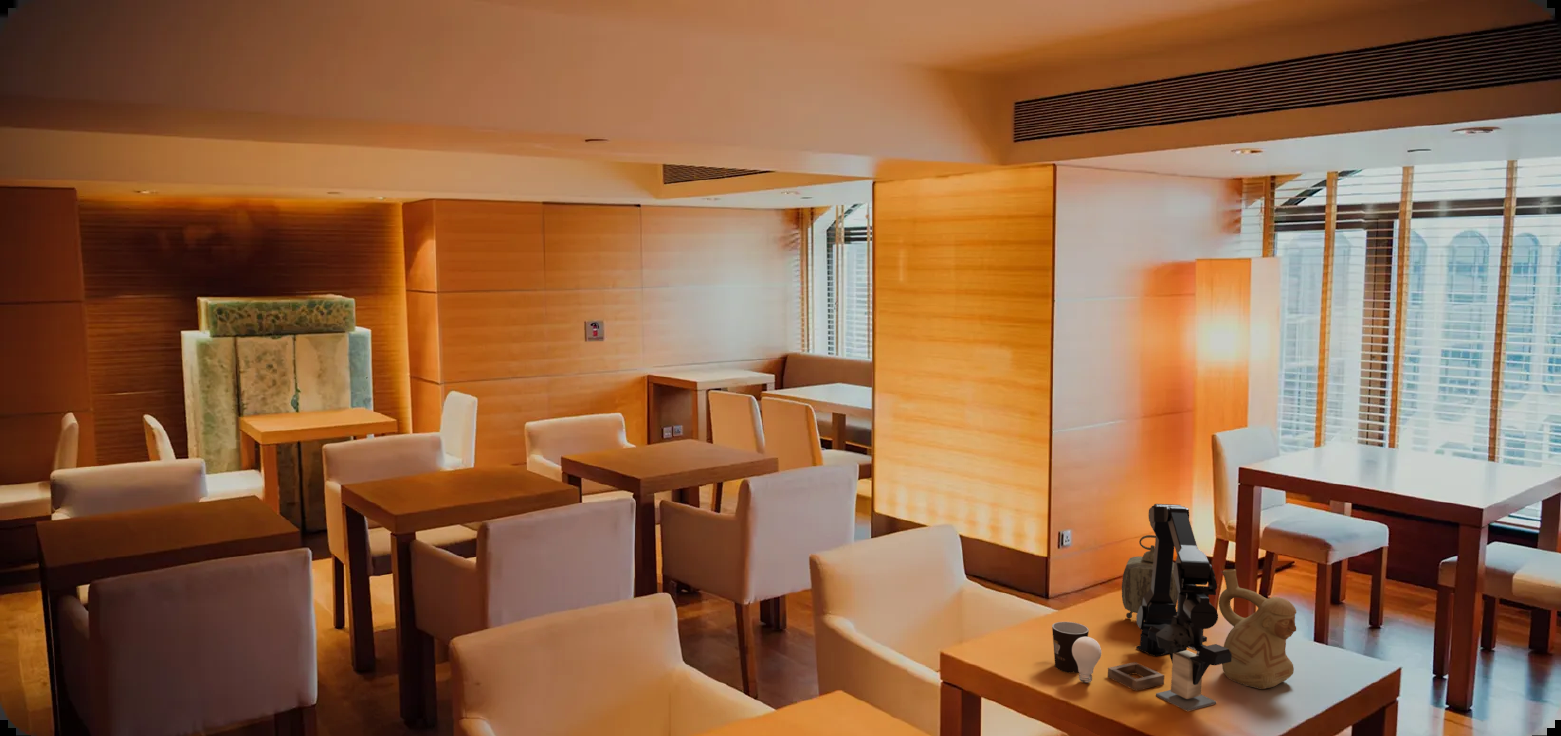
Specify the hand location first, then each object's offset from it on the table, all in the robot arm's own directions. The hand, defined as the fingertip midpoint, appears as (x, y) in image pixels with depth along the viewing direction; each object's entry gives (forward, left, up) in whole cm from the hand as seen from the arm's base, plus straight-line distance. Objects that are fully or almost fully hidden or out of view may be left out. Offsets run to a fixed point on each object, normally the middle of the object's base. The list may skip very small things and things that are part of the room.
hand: (1186, 680), depth 231 cm
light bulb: (+14, -17, -5) cm, 22 cm away
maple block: (0, 0, -3) cm, 3 cm away
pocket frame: (+2, -13, -4) cm, 14 cm away
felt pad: (0, 0, -4) cm, 5 cm away
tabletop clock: (-31, -40, -5) cm, 51 cm away
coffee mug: (+10, -27, -5) cm, 29 cm away
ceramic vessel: (-25, -2, -5) cm, 26 cm away
